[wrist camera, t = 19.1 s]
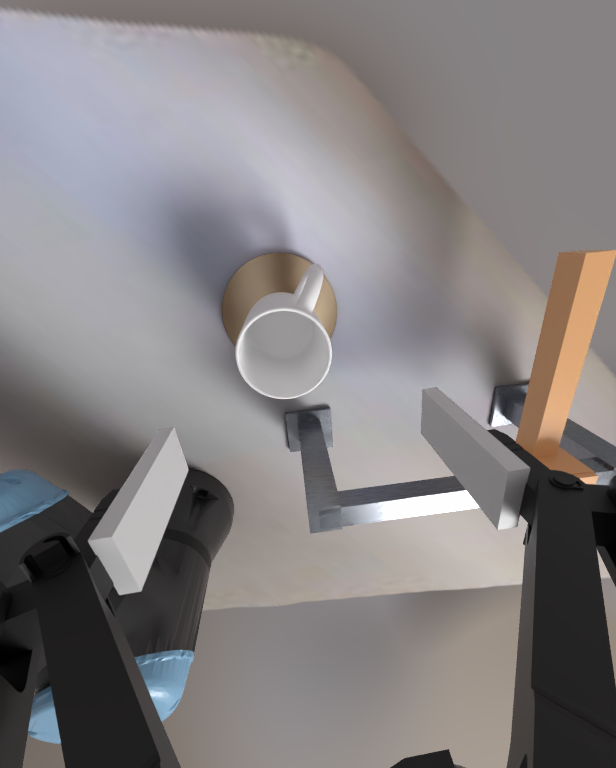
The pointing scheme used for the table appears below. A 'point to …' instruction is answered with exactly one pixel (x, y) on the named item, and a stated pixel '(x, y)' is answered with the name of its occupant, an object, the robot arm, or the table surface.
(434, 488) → the rail frame
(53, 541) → the robot arm
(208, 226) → the table surface
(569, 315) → the orange bar
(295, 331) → the mug
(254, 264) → the coaster
